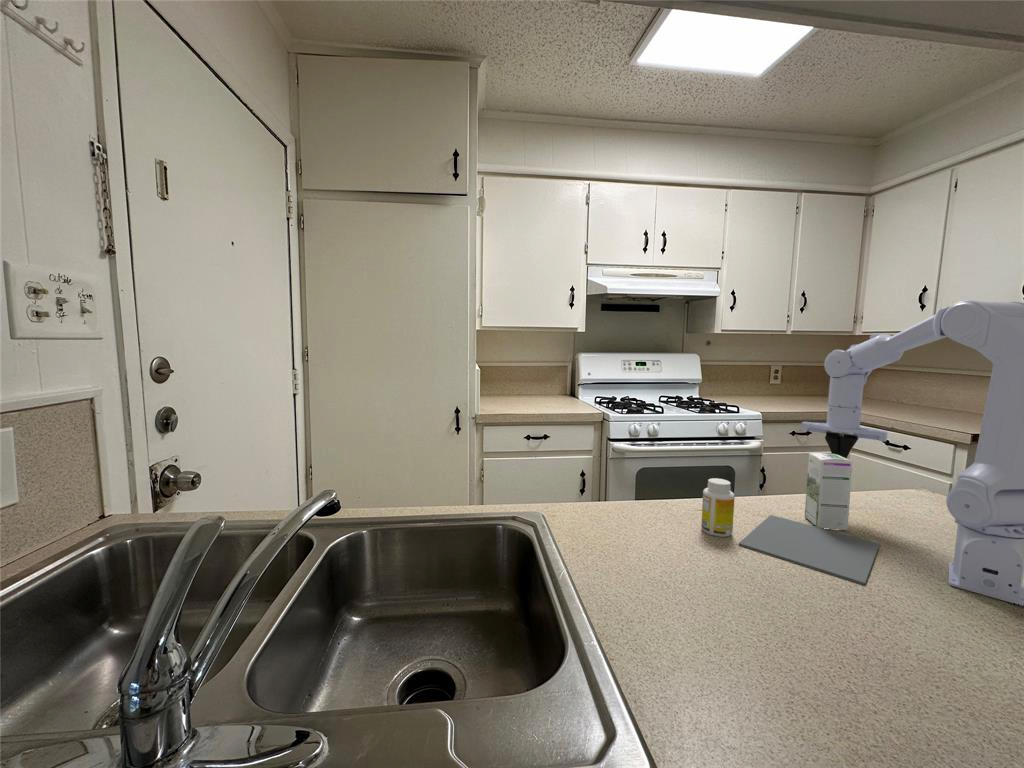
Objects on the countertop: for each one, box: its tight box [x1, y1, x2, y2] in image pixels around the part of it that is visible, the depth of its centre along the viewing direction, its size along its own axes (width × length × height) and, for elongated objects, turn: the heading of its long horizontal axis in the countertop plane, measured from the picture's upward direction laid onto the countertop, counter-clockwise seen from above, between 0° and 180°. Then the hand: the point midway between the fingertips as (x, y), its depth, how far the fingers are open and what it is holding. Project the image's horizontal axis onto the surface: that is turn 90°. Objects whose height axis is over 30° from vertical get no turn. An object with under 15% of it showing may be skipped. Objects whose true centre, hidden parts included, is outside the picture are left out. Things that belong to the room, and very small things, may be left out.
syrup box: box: [804, 452, 853, 531], centre depth 88 cm, size 6×6×14 cm
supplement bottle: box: [701, 477, 735, 538], centre depth 83 cm, size 6×6×10 cm
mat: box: [738, 514, 880, 586], centre depth 79 cm, size 20×18×1 cm
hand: (839, 468), depth 93 cm, fingers closed
